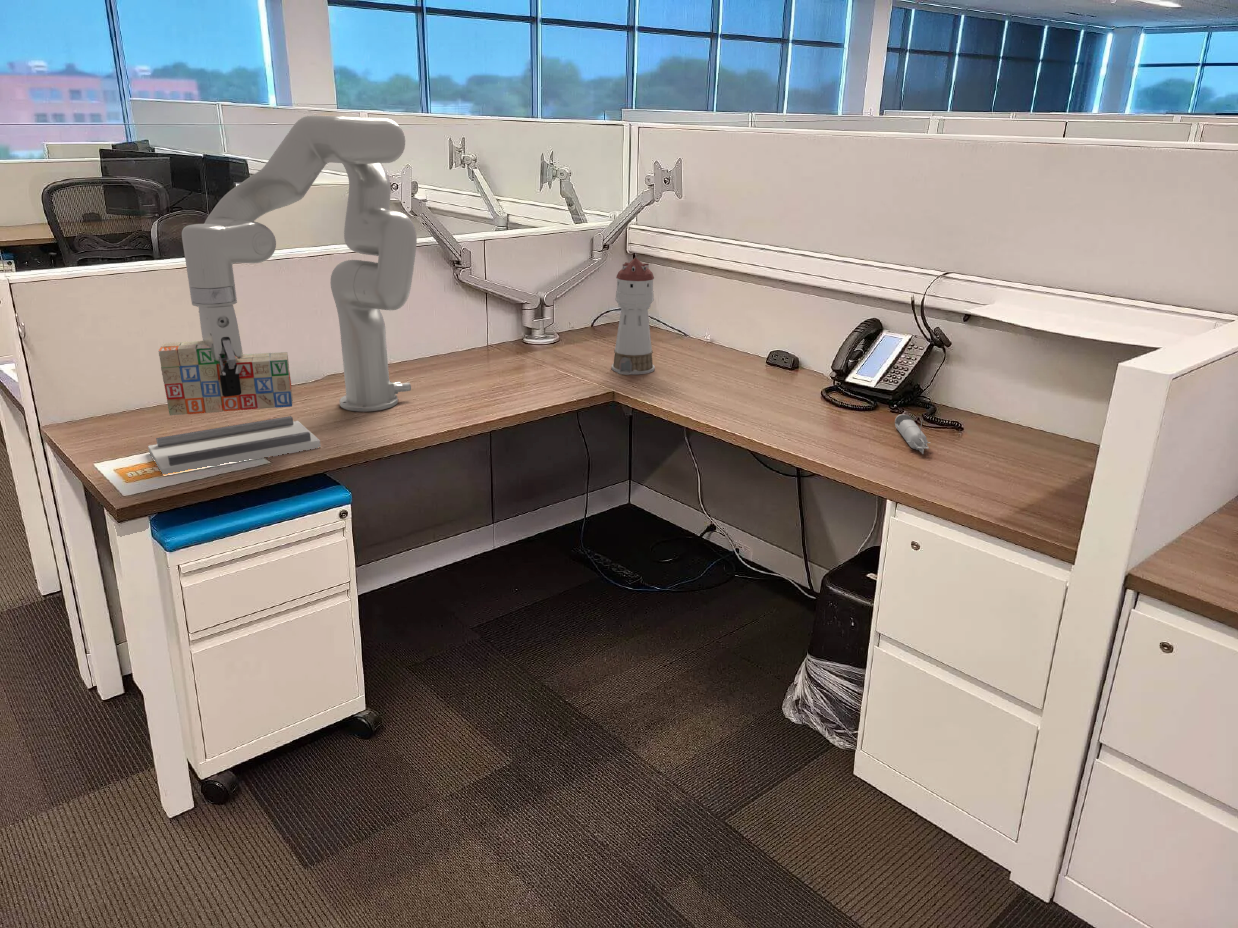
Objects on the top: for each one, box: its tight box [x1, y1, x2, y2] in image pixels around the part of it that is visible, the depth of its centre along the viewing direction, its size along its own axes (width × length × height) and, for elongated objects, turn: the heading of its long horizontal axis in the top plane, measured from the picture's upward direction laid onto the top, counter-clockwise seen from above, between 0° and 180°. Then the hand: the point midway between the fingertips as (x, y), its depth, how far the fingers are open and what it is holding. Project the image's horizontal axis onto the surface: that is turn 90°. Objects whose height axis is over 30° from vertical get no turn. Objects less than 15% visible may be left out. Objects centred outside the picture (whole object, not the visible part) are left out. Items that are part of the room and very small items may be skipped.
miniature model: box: [611, 253, 656, 376], centre depth 226 cm, size 11×12×30 cm
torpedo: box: [894, 413, 931, 455], centre depth 183 cm, size 18×5×6 cm, turn 178°
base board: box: [147, 415, 322, 475], centre depth 171 cm, size 28×14×3 cm, turn 125°
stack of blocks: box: [158, 340, 294, 416], centre depth 166 cm, size 21×6×12 cm, turn 108°
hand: (226, 389), depth 167 cm, fingers closed on stack of blocks, 7 cm apart
